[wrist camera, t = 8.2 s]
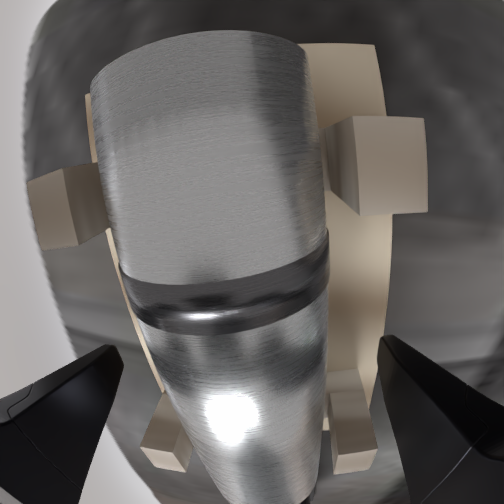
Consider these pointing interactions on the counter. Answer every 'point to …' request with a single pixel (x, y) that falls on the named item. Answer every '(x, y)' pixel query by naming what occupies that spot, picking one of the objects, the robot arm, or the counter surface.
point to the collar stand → (340, 240)
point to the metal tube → (224, 246)
